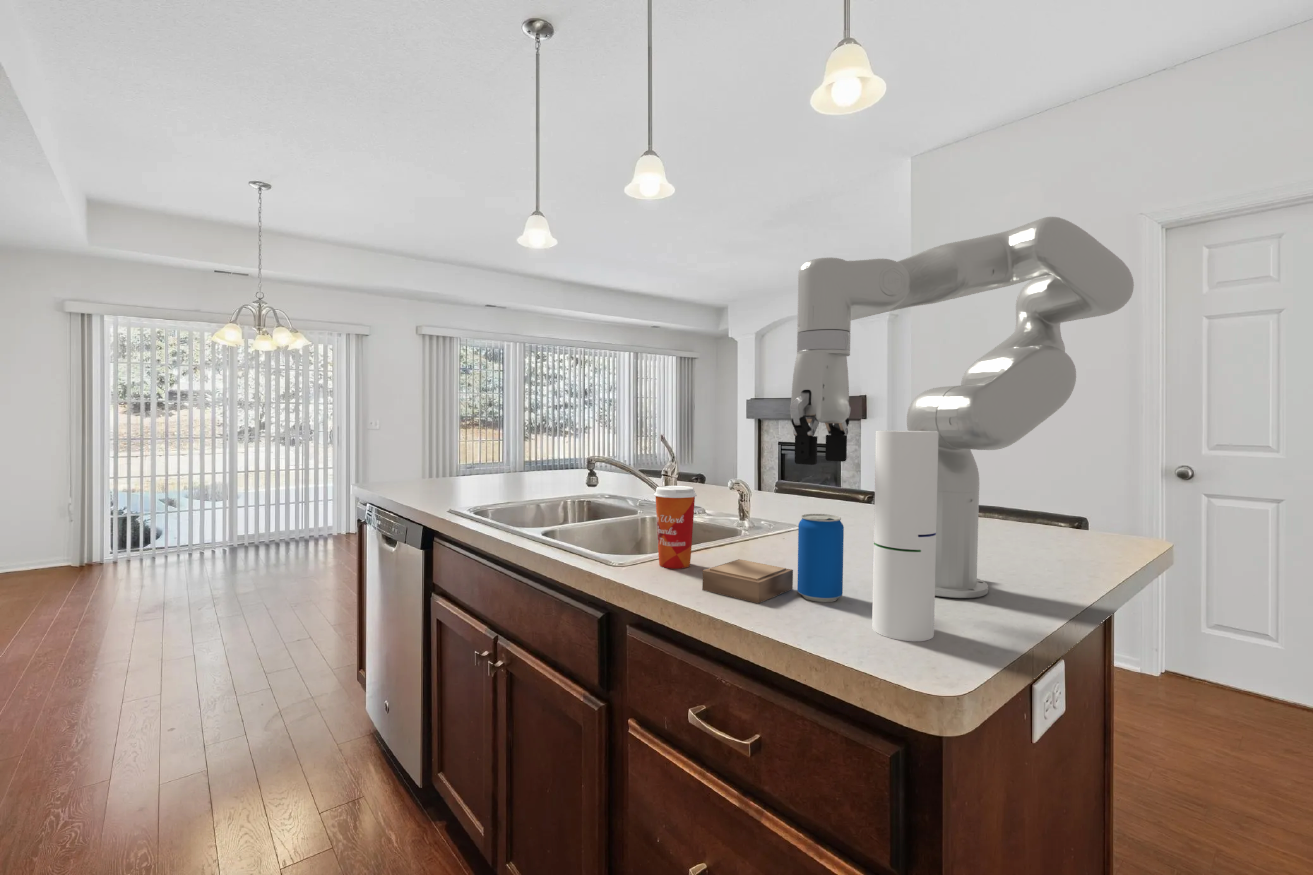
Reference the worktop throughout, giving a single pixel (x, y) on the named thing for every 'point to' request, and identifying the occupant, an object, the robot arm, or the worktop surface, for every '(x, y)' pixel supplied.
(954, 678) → the worktop surface
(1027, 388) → the robot arm
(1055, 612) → the worktop surface
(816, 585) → the beverage can
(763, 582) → the plinth
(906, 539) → the cylindrical container
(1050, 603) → the worktop surface
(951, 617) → the worktop surface
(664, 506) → the paper cup
